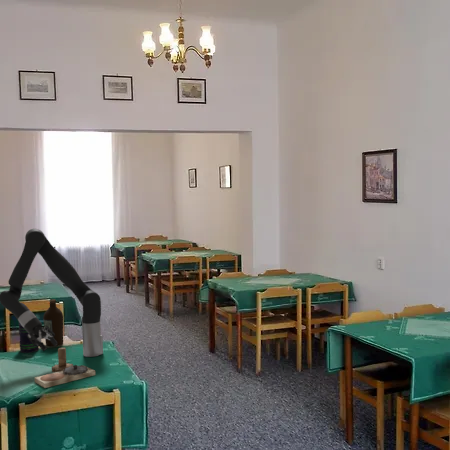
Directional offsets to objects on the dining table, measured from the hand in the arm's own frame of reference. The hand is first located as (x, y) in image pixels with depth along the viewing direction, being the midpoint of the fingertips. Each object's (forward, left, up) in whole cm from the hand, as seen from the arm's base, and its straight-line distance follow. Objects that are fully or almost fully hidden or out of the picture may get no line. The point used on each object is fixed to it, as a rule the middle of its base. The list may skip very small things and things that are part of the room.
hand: (50, 346), depth 264 cm
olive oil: (-20, -42, -11) cm, 47 cm away
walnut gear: (-3, +5, -10) cm, 12 cm away
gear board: (+2, +19, -10) cm, 22 cm away
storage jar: (-5, -40, -11) cm, 41 cm away
